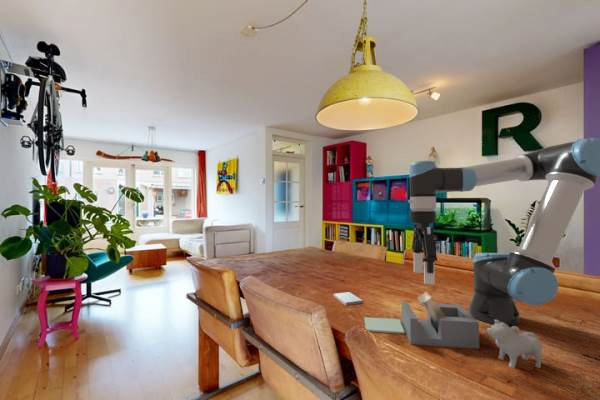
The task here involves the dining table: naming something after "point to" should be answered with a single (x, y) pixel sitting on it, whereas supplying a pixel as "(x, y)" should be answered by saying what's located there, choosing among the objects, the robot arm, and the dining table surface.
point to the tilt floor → (427, 310)
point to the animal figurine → (515, 343)
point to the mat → (384, 325)
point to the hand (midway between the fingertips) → (423, 277)
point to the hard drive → (348, 298)
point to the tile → (431, 305)
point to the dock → (442, 327)
